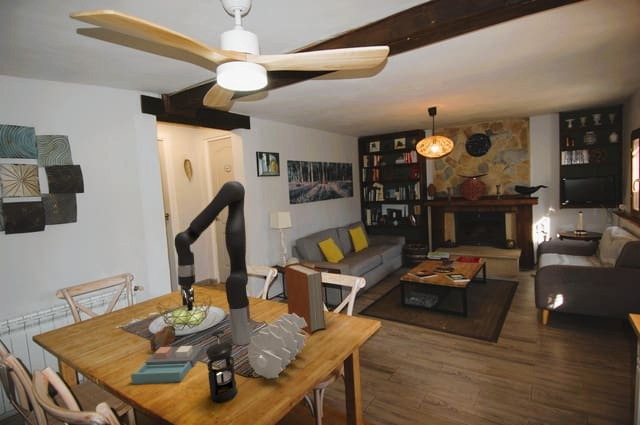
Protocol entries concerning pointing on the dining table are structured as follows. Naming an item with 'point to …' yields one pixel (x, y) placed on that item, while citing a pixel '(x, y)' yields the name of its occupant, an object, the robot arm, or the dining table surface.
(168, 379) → the tray
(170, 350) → the terracotta tile
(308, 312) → the book
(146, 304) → the dining table surface
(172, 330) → the tin
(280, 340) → the grey pine cone
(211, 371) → the french press
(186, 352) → the cream tile
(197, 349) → the grey stone slab
